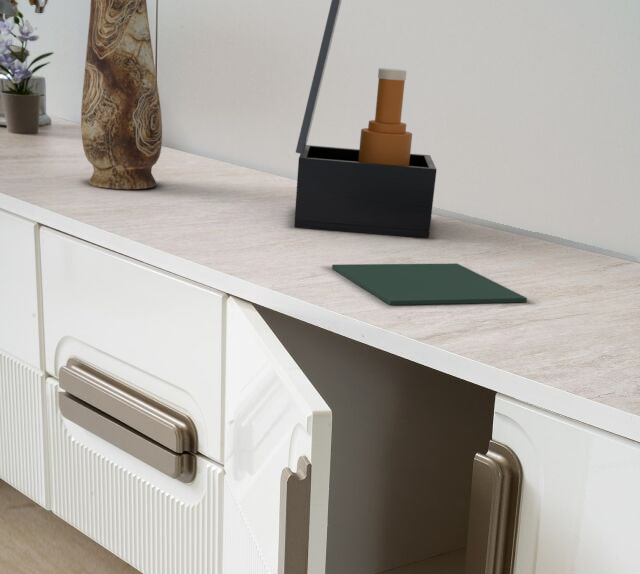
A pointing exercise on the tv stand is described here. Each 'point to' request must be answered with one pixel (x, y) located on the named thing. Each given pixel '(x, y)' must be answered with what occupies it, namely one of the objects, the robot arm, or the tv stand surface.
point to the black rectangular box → (363, 193)
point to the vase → (120, 96)
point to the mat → (426, 284)
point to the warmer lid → (318, 75)
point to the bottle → (387, 124)
